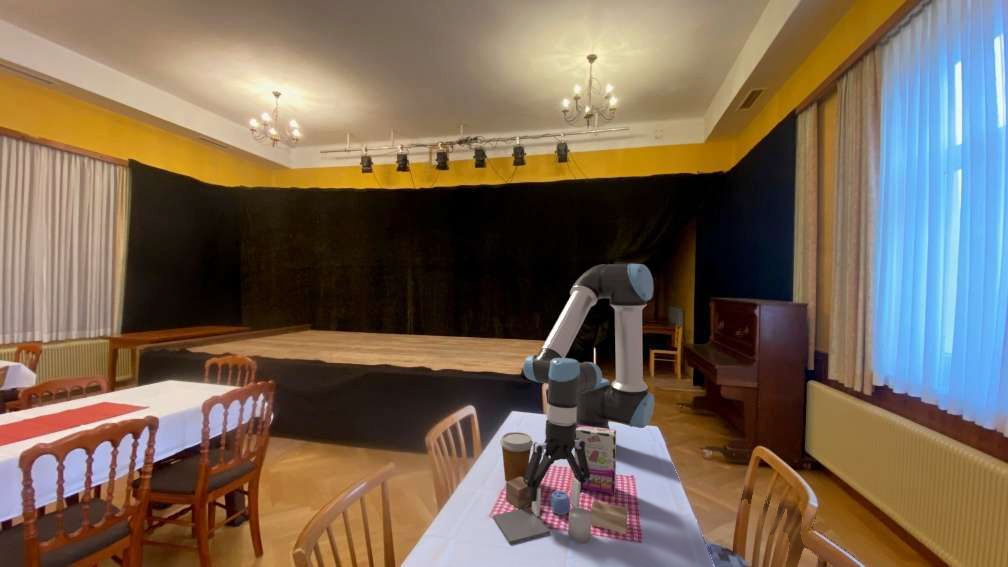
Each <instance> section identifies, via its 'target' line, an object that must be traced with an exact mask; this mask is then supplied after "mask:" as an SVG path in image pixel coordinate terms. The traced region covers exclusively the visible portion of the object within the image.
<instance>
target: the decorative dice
mask: <svg viewBox="0 0 1008 567" xmlns="http://www.w3.org/2000/svg"><path fill="white" fill-rule="evenodd" d="M550 508H551V511H552V513H554V514H555V515H558V516H565V515H567V514H569V510H570V509H571V499H570V497H569V494H568V493H567V492H565V491H563V490H555V491H553V492H552V493H551V495H550Z"/></svg>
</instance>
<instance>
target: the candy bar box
mask: <svg viewBox="0 0 1008 567" xmlns="http://www.w3.org/2000/svg"><path fill="white" fill-rule="evenodd" d="M577 438H579V439H581V440H582V441H584V442H585V454H586V459H587V463H588V468H589V472H590V477H589V478H585V479H586V482H585V483H583V488H582V490H585V491H589V492H595V493H600V494H603V495H604V494H606V495H610V496H615V492H616V483H617V482H616V481H617V479H616V478H617V477H616V476H617V474H616V473H617V470H616V468H617V466H616V465H617V429H612V428H610V429H606V428H599V427H591V426H584V425H577V427H576V435H575V440H576V439H577ZM574 458H575V461H576V463H577V465H578V467H579V469H580V466H579V462H578V458H577V453H576V448H575V447H574ZM573 478H576V477H575V475H574V474H573Z"/></svg>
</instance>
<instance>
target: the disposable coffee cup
mask: <svg viewBox="0 0 1008 567" xmlns="http://www.w3.org/2000/svg"><path fill="white" fill-rule="evenodd" d="M499 441H500V445H501V450H502V460H503V463H502V464H503V470H504V471H503V472H504V480H505V482H507V481H510V480H512V479H515V478H518V477H520V476H521V477H523V478H524V476H525V473H526V471H527V468H528V465H529V462H530V459H531V451H532V450H531V449H532V447H533V444H534V442H533V439H532V437H531V436H530V435H529V434H528V433H525V432H519V431H511V432H510V431H509V432H507V433H504V434H503V435H502V437H501V440H499Z"/></svg>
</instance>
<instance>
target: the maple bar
mask: <svg viewBox="0 0 1008 567" xmlns="http://www.w3.org/2000/svg"><path fill="white" fill-rule="evenodd" d="M590 513H591V526H593V525H595V526H594V527H597V526H599V527H598V528H600V527H603V528H602V529H604V528H607V529H606V530H608V529H610V530H609V531H612V530H614V531H613V532H616V531H617V533H619V532H621V533H620V534H623V533H624V534H623V535H626V534H627V527H628V507H625V506H620V505H614V504H611V503H607V502H602V501H599V500H595V499H593V501H592V504H591V507H590Z"/></svg>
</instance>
